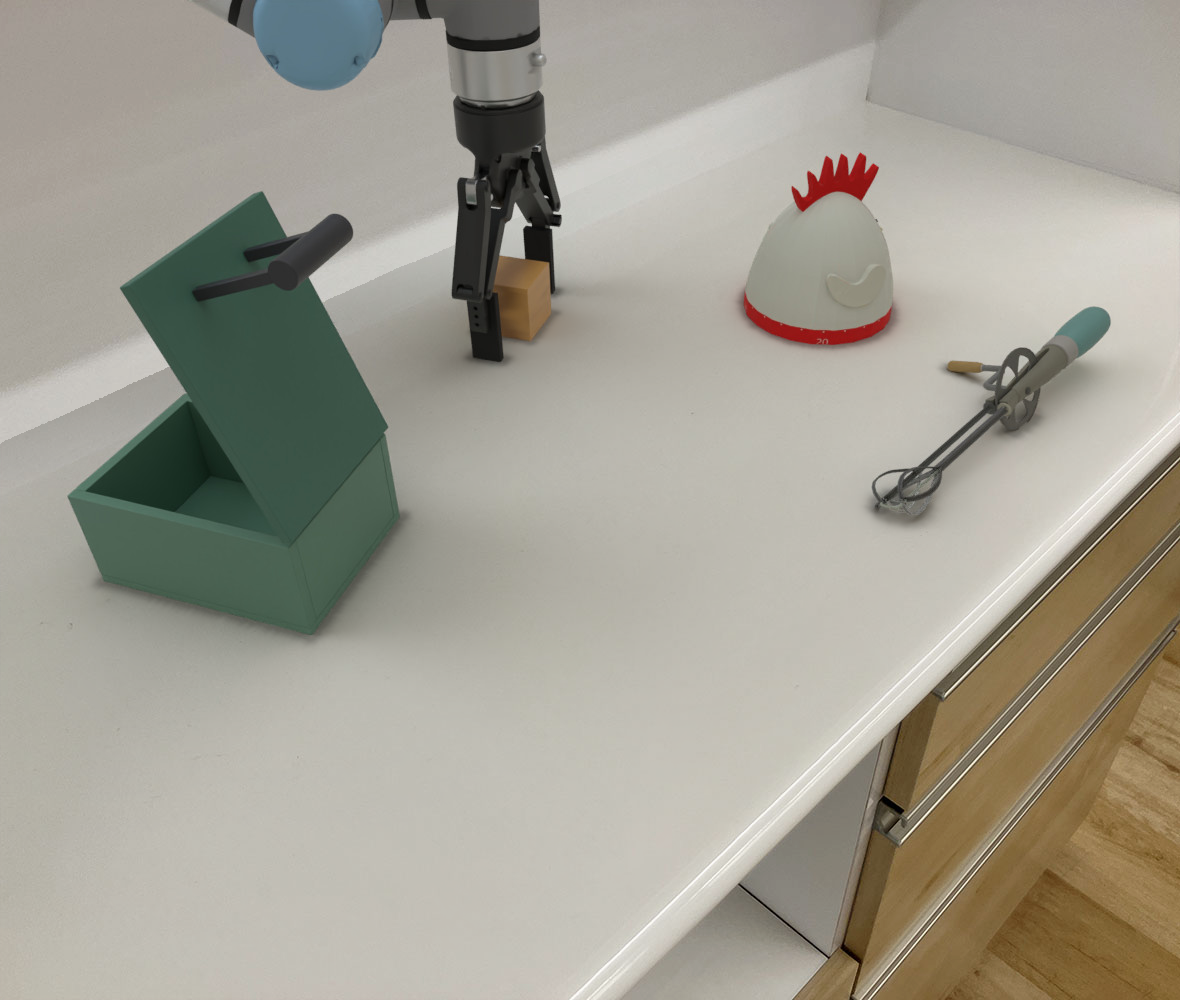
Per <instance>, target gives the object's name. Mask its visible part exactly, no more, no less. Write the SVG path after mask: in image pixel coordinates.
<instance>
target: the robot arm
mask: <svg viewBox="0 0 1180 1000" xmlns="http://www.w3.org/2000/svg"><path fill="white" fill-rule="evenodd" d="M187 1H189V2H190V3H192V4H194V5H196V6H197V7H199V8H201V9H203V10H205V11H207V12H208V13H210V14H212V15H214V16H215V17H217V18H219V19H220V20H223V21H224V22H227V24H229V25H232V26H233V27H235V28H237V29H239V30H240V31H242V32H244V33H245V34H247V35H249V36H250V37H252V38H253V39H255V43H256V45H257V47H258V50H259V52H260V53H261V54H262V56H263V58H264V59H265V60H266V63H268V65H269V66H270V67H271V68H272V69H273V71H275V73H276V74H277V75H278V76H280V77H281V78H282V79H284V80H285V81H287V82H288V83H290V84H292V85H294V86H297V87H298V88H302V89H305V90H310V91H318V92H322V91H330V90H336V89H338V88H342V87H344V86H345V85H347V84H349V83H350V82H352V81H353V80H355V79H356V78H357V77H358V76H359V75H360V74H361V73H362V71H363V70H364V69H365V68H366V67H367V66H368V64H369V63H370V62H371V60H373V59H374V58H375V57H376V55H377V53H378V52H379V50H380V48H381V44H382V42H383V34H384V32H385V30H386V28H387V26H388V25H389V23H390V21H391V22H392V21H410V20H411V21H412V20H413V21H414V20H432V19H443V23H444V27H445V39H446V50H447V58H448V59H447V60H448V61H447V62H448V71H449V82H450V83H449V84H450V90H451V92H452V93H454V95H455V97H454V98H453V101H452V106H453V107H452V108H453V117H454V126H455V135H456V136H455V137H456V140H457V142H458V143H459V145H460V146H462V147H463V148H465V149H466V150H468V151H469V152H470V153H471V154H472V155H473V156H474V169H473V176H472V177H471V178H470V177H464V176H463V177H462V176H460V177H459V178H458V179H457V183H456V191H457V192H456V193H457V206H458V207H457V221H456V231H455V244H454V257H453V268H452V269H453V270H452V281H451V298H452V300H453V299H454V300H459V301H464V302H465V301H466V308H467V316H468V324H469V325H468V327H469V335H470V343H471V344H470V345H471V353H472V358H476V359H482V360H486V361H487V360H488V361H492V362H499V363H501V362H502V360H503V359H504V358H505V357H504V346H503V344H504V343H503V337H502V333H501V322H500V311H499V299H498V293H495V292H493V287H494V282H495V277H496V271H497V266H498V261H499V255H500V256H501V249H502V245H503V238H504V233H505V228H506V224H507V223H509V222H510V221H511V220H512V219H513V214H514V209H515V204H516V206H517V207H518V209H519V211H520V213H521V214H522V216H523V218H524V219H525V221H526V223H527V224H530V225H525V226H524V227H523V228H522V233H523V248H524V259H528V260H535V261H542V262H549V272H550V294H554V293H555V291H556V278H555V257H554V239H553V228H551V227H555V228H560V227H561V226H562V223H563V222H562V220H563V216H562V214H557V213H559V212H560V209H561V206H562V205H561V203H562V202H561V199H560V194H559V191H558V188H557V184H556V180H555V176H554V173H553V169H552V165H551V161H550V158H549V157H550V156H549V155H548V150H547V145H546V144H547V143H546V142H547V141H546V133H547V131H546V129H547V128H546V127H547V126H546V111H545V107H546V106H545V96H544V94H543V93H541V91H540V89H542V87H543V84H544V83H543V82H544V81H543V67H545V66H546V64H547V59H548V58H547V56H546V54H545V53H542V46H541V45H542V43H541V19H540V17H541V16H540V14H541V13H540V0H187Z"/></svg>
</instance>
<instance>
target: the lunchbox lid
mask: <svg viewBox="0 0 1180 1000" xmlns="http://www.w3.org/2000/svg"><path fill="white" fill-rule="evenodd" d="M353 237H354V228H353V225H352V224H351V222H350V221H349V219H347V218H346V216H344V215H342V214H339V213H331V214H328V215H327V216H326V217H324V218H323V219H322V220H321V221H320V222H319V223H317V224H315V226H313V227H312V228H311V229H309V230H308V231H305V232H301V233H297V234H293V235H290V236H288V235H287V234H286V232H285V230H284V229H283V227H282V225H281V223H280V221H279V219H278V217H277V215H276V213H275V212H274V210H273V208H272V206H271V205H270V202H269V200H268V198H267V196H266V195H265V193H264V191H262V190H261V191H257V192H254V193H252V194H251V195H249V196H248V197H246V198H245V199H244V200H242V201H241V202H239V203H238V204H237V205H235V206H233V207H232V208H231V209H229V210H227V212H225V213H224V214H221V215H220V216H219V217H218V218H216V219H215V220H214V221H212V222H211V223H210V224H207V225H206V226H205V227H204V228H202V229H201V230H199V231H198V232H197V233H195V234H193V235H192V236H191V237H189V238H188V239H186V240H184V241H183V242H182V243H181V244H179V245H177V246H176V247H175V248H173V249H172V250H171V251H169V252H168V253H166V254H165V255H164V256H162V257H160V258H159V259H158V260H156V261H155V262H153V263H152V264H151V265H149V266H148V267H146V268H145V269H144V270H142V271H141V272H139V273H138V274H136V275H135V276H134V277H132V278H131V279H129V280H128V281H126V282H125V283H124V284H122V285H121V286H120V287H119V290H120V291H121V293H122V294H123V296H124V298H125V299H126V300H127V302H128V304H129V305H130V307H131V308H132V310H133V312H134V314H136V317H137V318H138V320H139V322H141V324H142V325H143V326H142V327H144V329H145V330H146V332H147V333H148V335H149V337H150V338H151V340H152V341H153V343H154V344H155V346H156V348H157V349H158V351H159V353H160V354H161V355H162V357H163V358H164V360H165V362H166V363H167V365H168V366H169V368H170V369H171V372H172V373H173V374H174V376H175V377H176V379H177V380H178V382H179V384H180V385H181V386H182V389H183V390H184V391H185V394H188V396H189V398H190V399H191V401H192V402H193V404H194V405H195V407H196V409H197V410H198V412H199V413H200V415H201V416H202V418H203V419H204V421H205V423H206V424H207V426H208V427H209V429H210V430H211V432H212V434H213V435H214V437H215V438H216V440H217V441H218V443H219V444H220V446H221V448H222V449H223V451H224V452H225V454H226V455H227V457H228V459H229V460H230V462H231V463H232V465H233V466H234V468H235V470H236V471H237V473H238V474H239V476H240V477H241V479H242V480H243V482H244V484H245V485H246V487H247V488H248V490H249V491H250V493H251V495H252V496H253V498H254V499H255V501H256V502H257V504H258V506H259V507H260V509H261V510H262V512H263V513H264V515H265V516H266V518H267V520H268V521H269V523H270V524H271V526H272V527H273V529H274V531H275V532H276V534H277V535H278V537H279V538H280V540H281V542H282V543H290V542H292V541H293V540H294V539H295V538H296V537H297V535H298V534H299V533H300V532H301V531H302V530H303V528H304V527H305V526H306V525H307V524H308V522H309V521H310V520H311V519H312V518H313V516H314V515H315V514H316V513H317V512H318V511H319V509H320V508H321V507H322V506H323V505H324V503H325V502H326V501H327V500H328V499H329V497H330V496H331V495H332V494H333V493H334V492H335V490H336V489H337V488H338V487H339V486H340V484H341V483H342V482H343V481H344V480H345V478H346V477H347V476H348V475H349V474H350V473H351V471H352V470H353V469H354V468H355V467H356V465H357V464H358V463H359V462H360V461H361V459H362V458H363V457H364V456H365V455H366V454H367V452H368V451H369V450H370V449H371V448H372V446H373V445H374V444H375V443H376V442H377V440H378V439H379V438H380V437H381V436H382V434H383V433H386V431H387V430H388V429H389V425H388V423H387V422H386V419H385V417H384V416H383V414H382V412H381V410H380V408H379V406H378V404H377V403H376V401H375V398H374V397H373V395H372V393H371V391H370V390H369V387H368V386H367V384H366V382H365V380H364V378H363V376H362V374H361V373H360V371H359V369H358V367H357V365H356V364H355V362H354V359H353V358H352V356H351V354H350V352H349V350H348V349H347V348H348V347H346V344H345V342H344V341H343V339H342V336H341V335H340V333H339V332H338V329H337V328H336V326H335V323H334V322H333V320H332V318H331V316H330V314H329V312H328V311H327V309H326V307H325V305H324V303H323V301H322V300H321V298H320V295H319V293H318V292H317V290H316V288H315V286H314V285H313V283H312V281H311V279H310V277H311V276H312V275H313V274H314V273H316V271H318V270H319V269H320V268H321V267H322V266H324V264H326V263H327V262H328V261H329V260H331V258H333V257H334V256H335V255H336V254H338V252H339V251H341V250H342V249H343V248H344V247H345V246H346V245H348V244H349V243H350V242H351V241H352V239H353Z"/></svg>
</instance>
